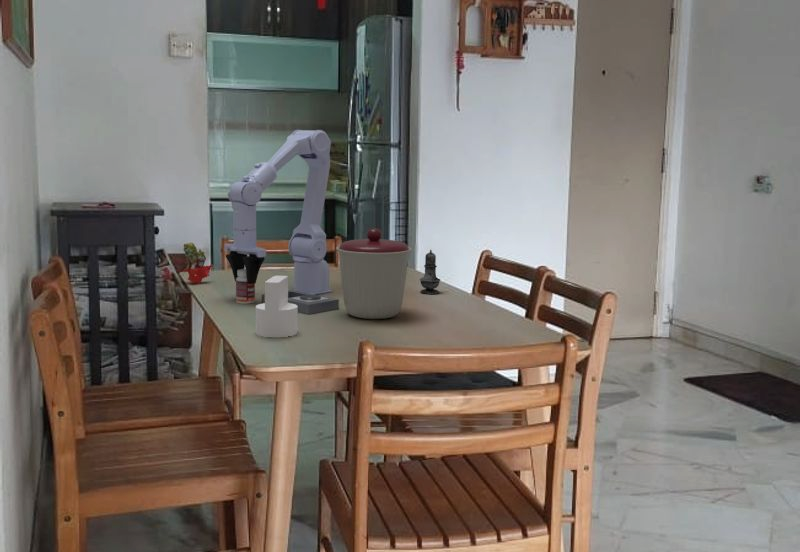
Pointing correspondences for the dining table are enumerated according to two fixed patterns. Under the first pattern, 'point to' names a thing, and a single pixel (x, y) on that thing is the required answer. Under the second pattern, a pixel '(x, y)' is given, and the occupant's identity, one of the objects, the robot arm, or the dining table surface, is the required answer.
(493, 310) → the dining table surface
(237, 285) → the pill bottle
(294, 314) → the base with upright slab
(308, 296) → the socket strip
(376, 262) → the canister
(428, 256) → the salt shaker
